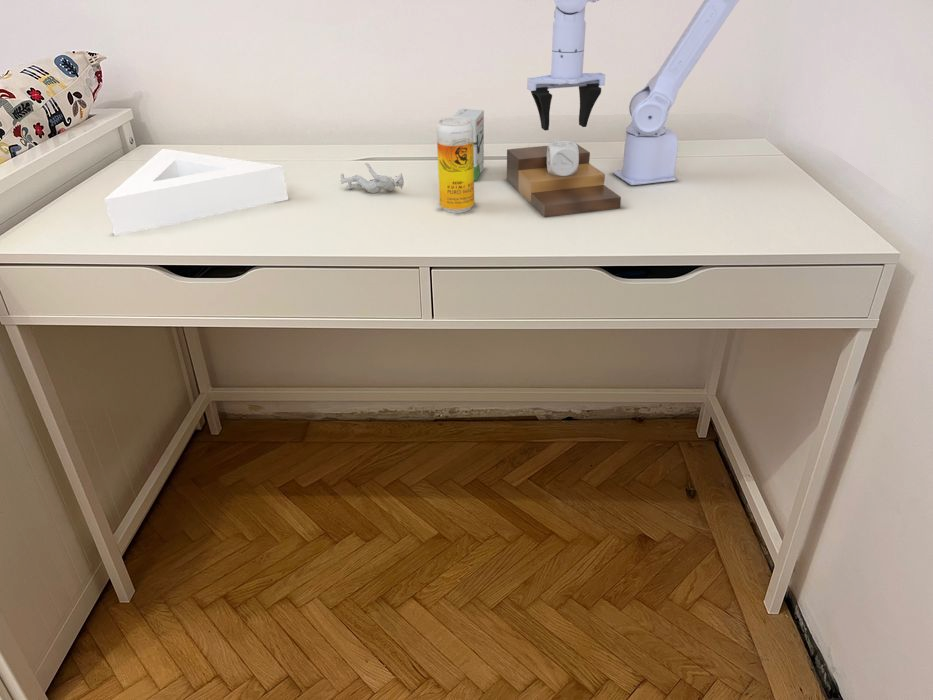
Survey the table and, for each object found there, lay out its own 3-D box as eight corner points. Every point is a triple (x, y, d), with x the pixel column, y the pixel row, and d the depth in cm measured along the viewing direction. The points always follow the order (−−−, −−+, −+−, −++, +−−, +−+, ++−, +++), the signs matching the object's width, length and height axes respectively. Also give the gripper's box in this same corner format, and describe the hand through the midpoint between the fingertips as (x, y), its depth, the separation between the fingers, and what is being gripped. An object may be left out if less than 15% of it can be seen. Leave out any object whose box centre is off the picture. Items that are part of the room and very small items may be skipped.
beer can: (449, 216, 119) (446, 127, 111) (434, 205, 124) (430, 119, 116) (480, 209, 121) (479, 122, 113) (464, 199, 126) (462, 114, 118)
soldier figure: (357, 188, 136) (412, 172, 131) (357, 210, 134) (412, 195, 130) (335, 168, 129) (391, 151, 124) (335, 192, 127) (392, 175, 123)
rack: (573, 173, 138) (575, 142, 135) (620, 208, 121) (623, 174, 118) (506, 180, 135) (506, 149, 132) (544, 217, 118) (545, 182, 115)
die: (577, 176, 124) (579, 147, 121) (549, 176, 123) (551, 148, 121) (573, 167, 128) (574, 140, 125) (546, 168, 128) (547, 141, 125)
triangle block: (114, 236, 114) (103, 199, 111) (89, 194, 133) (79, 162, 130) (288, 199, 128) (282, 166, 125) (243, 166, 147) (237, 136, 143)
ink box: (476, 181, 135) (476, 118, 128) (452, 180, 136) (450, 118, 129) (484, 168, 142) (484, 108, 136) (461, 167, 143) (459, 107, 137)
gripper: (537, 56, 120) (535, 135, 127) (614, 51, 123) (608, 129, 130) (524, 50, 125) (522, 126, 133) (598, 45, 129) (592, 120, 136)
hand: (563, 127), depth 132 cm, fingers open, 7 cm apart
